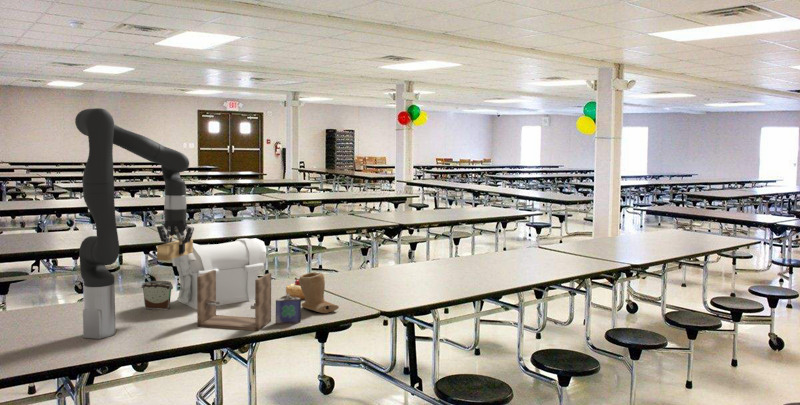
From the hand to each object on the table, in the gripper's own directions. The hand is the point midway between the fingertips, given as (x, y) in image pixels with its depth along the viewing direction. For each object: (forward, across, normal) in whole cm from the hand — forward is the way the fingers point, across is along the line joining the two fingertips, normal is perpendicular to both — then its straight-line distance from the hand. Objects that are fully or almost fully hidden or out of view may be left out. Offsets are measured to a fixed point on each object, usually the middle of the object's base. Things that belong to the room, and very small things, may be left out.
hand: (175, 253), depth 224 cm
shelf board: (+1, 0, 0) cm, 1 cm away
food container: (+24, -14, +13) cm, 31 cm away
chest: (+24, +4, +29) cm, 38 cm away
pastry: (+24, +34, +42) cm, 59 cm away
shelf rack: (+24, +24, -2) cm, 34 cm away
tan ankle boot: (+24, +47, +23) cm, 58 cm away
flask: (+24, +42, +4) cm, 49 cm away
